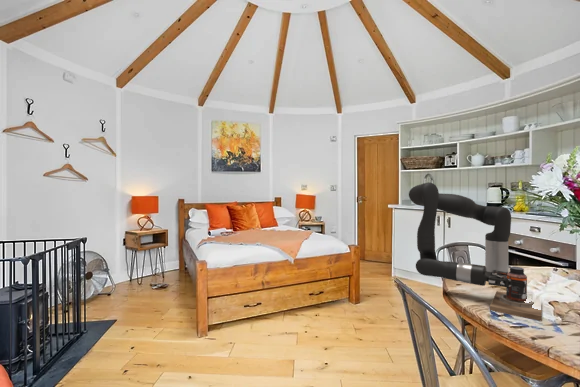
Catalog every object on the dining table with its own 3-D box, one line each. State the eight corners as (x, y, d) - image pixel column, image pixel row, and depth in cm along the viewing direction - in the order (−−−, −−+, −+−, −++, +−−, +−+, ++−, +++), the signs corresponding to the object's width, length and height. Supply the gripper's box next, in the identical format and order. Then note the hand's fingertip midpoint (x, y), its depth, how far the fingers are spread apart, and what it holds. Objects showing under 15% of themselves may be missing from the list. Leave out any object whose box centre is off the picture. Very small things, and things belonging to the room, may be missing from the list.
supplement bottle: (530, 302, 108) (531, 270, 108) (511, 301, 110) (511, 269, 109) (521, 296, 114) (521, 266, 114) (503, 295, 115) (503, 265, 115)
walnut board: (496, 294, 124) (496, 287, 124) (541, 302, 115) (541, 295, 115) (489, 310, 108) (490, 302, 108) (541, 320, 100) (541, 312, 100)
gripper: (467, 268, 115) (524, 276, 104) (474, 260, 126) (526, 267, 116) (467, 288, 115) (524, 298, 105) (474, 279, 126) (526, 287, 116)
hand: (525, 282), depth 110 cm, fingers closed on supplement bottle, 6 cm apart
